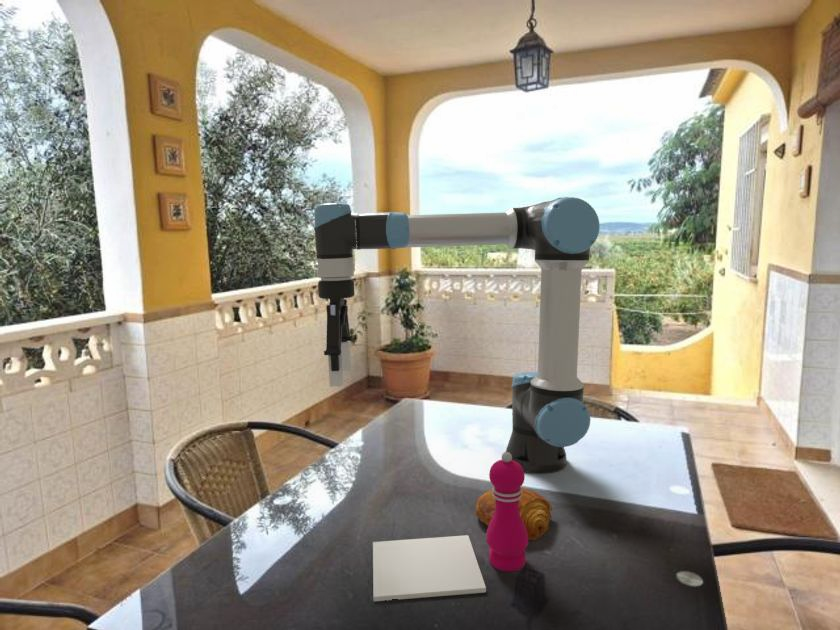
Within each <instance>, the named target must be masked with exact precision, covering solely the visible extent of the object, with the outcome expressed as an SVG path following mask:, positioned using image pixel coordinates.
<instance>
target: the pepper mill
mask: <svg viewBox="0 0 840 630" xmlns="http://www.w3.org/2000/svg"><path fill="white" fill-rule="evenodd" d="M488 475H489V476H488V477H489V481H490V483H491V485H493V486H492V488H491V490H493V493H492V495H493V497H494V498H495V502H496V503H495V512H494V515H493V517H492V519H491V521H490V524H489V526H488V525H487V530H486V539H485V540H486V543H487V545H488V547H489V553H488V554H489V555H488V556H489V557H488V558H489V563H490V564H491V566H493V568H495V569H497V570H499V571H503V572H515V571H519V570H521V569H522V568H524V566H525V565H526V551H525V550H526V549H527V547H528V545H529V540H528V534H527V530H526V527H525V525H524V523H523V521H522V519H521V516H520V513H519V499H520V498H521V497H522V494H521V492H522V489H521V488H522V486H523V484H524V482H525V471H524V470H523V468H522V467H521V465H520V464H519V463H517V462H516V461H514V460H512V455H511V454H510V453H509V452H506V451H505V452H503V453H502V454H501V459H499V460H497V461H495V462H494V463H493V464H492V465H491V466H490V470H489V473H488Z"/></svg>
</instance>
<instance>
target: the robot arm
mask: <svg viewBox="0 0 840 630" xmlns="http://www.w3.org/2000/svg"><path fill="white" fill-rule="evenodd" d="M599 220H600V219H599V216H598V213H597V212H596V210H595V209H594V207H592V205H590V203H589V202H587V201H586V200H585V199H584V200H583V199H582V198H579V197H572V196H570V197H569V196H563V197H557V198H555V199H553V200H548V201H544V202H539V203H536V204H532V205H529V206H523V207H509V208H508V209H507V210H506V211H505V212H479V213H478V212H475V213H474V212H473V213H442V214H409V215H408V214H407V213H406V212H401V211H400V212H399V211H398V212H395V211H387V212H366V213H358V212H357V213H355V212H352V209H351V205H350V204H348V203H343V202H342V203H340V202H339V203H336V202H335V203H321V204H318V205H316V207H315V208H314V239H315V240H314V241H315V251H316V252H315V253H316V255H315V256H316V262H317V263H314V265H313V266H314V268H315V269H317V278H319V279H320V280H318V282H317V289H318V290H317V291H318V297H319V298H320V299H322V300H329V304H327V305H326V307H325V308H326V309H325V310H326V345H325V346H326V347H325V348H326V349H325V350H323V355H324V356H328V357H327V360H328V375H329V376H328V378H329V379H328V381H329V387H331V388H332V387H344V385H345V384H344V372H348V371H349V372H351V370H352V369H351V368H352V367H351V366H352V365H351V347H350V346H351V345H350V342H353V336H351V333H350V324H349V314H348V312H349V308H348V305H347V304H348V303H347V302H348V300H347V299H349V298H353V297H354V296H355V280H354V279H352V277H354V276H355V268H354V254H353V250H357V251H358V250H387V249H391V250H396V249H404V248H433V247H434V248H437V247H438V248H439V247H463V246H465V247H467V246H468V247H469V246H471V247H472V246H496V245H499V246H501V245H502V246H503V245H505V246H506V247H508V249H512V250H513V249H524V250H532V251H534V262H535V263H536V264H537V265H538V266H539V267H540V272H541V273H540V292H539V293H540V294H539V295H540V298H539V299H540V300H539V325H538V326H539V327H538V328H539V329H538V349H537V350H538V351H537V352H538V353H537V357H538V359H537V371H529V372H528V371H525V372H519V373H516V374H515V375H513V377H512V384H511V391H512V392H511V393H512V394H511V399H512V403H511V404H512V407H511V408H512V409H511V410H512V416H511V417H512V432H511V434H510V437H509V440H508V444H507V445H506V450H505V452H509V453H510V454H511V455H512V460H514V461H516V462H517V463H519V464H520V465H521V467H522V468H523V470H524V473H525V472H526V473H533V474H534V473H535V474H549V473H554V472H557V471H558V472H559V471H561V470H562V469H564V468H566V466H567V452H566V449H565V448H566V447H571V446H573V445H575V444H578V443H579V441H581V439H583V438H584V437H585V436H586V435H587V433H588V431H589V429H590V427H591V414H590V410H589V409H588V407H587V405H586V404H585V403H584V387H585V384H584V383H583V381H581V380H580V379H579V377H578V363H579V362H578V358H579V341H580V340H579V337H580V336H579V335H580V315H581V290H582V287H581V286H582V271H583V268H584V267H585V266H587V264H588V263H589V262H590V254H591V247H592V246H593V245H594V243H596V241H597V239H598V237H599V233H600V226H601V225H600V221H599Z"/></svg>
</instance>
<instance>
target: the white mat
mask: <svg viewBox="0 0 840 630" xmlns="http://www.w3.org/2000/svg"><path fill="white" fill-rule="evenodd" d="M372 569H373V570H372V574H373V575H372V576H373V577H372V582H373V583H372V584H373V585H372V586H373V592H372V593H373V596H372V597H373V598H372V599H373V602H384V601H385V600H386V601H393V600H392V599H398V600H408V599H421V598H422V599H423V598H431V597H432V598H434V597H443V596H444V597H446V596H447V597H448V596H457V595H459V596H461V595H470V594H471V595H472V594H483V593H487V586H486V584H485V581H484V578H483V574H482V572H481V569H480V566H479V563H478V560H477V557H476V554H475V551H474V549H473V545H472V542H471V540H470V536H469V535H468V534H467V535H465V534H464V535H454V536H452V535H451V536H439V537H438V536H437V537H425V538H424V537H423V538H413V539H412V538H411V539H399V540H397V539H396V540H385V541H372Z"/></svg>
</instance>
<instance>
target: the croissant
mask: <svg viewBox="0 0 840 630" xmlns="http://www.w3.org/2000/svg"><path fill="white" fill-rule="evenodd" d="M521 489H522V492H521V494H522V497H521V498H520V499H519V513H520V516H521V519H522V521H523V523H524V525H525V527H526V530H527V534H528V541H534V540H537V539H539V538H540V537H542V535H543V534H545V533H546V532H547V531H548V529H549V524H550V521H551V518H552V513H551V512H552V511H553V506H552V504H551V503H550V501H548V500H547V499H546V498H545V497H544V496H543V495H541V494H539V493H538V492H536V491H533V490H531V489H529V488H524V487H521ZM492 493H493V490H492V489H490V490H489V491H486V492H484V493H483V494H482V495H480V496H479V497H478V498H477V500H476V502H475V507H474V508H475V509H474V511H475V515H476V517H477V519H479V520H480V522H482V523H484V524H485V525H486V526H487V527H488V526H489V524H490V521H491V519H492V517H493V515H494V512H495V503H496V502H495V498H494V497H493V495H492Z"/></svg>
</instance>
